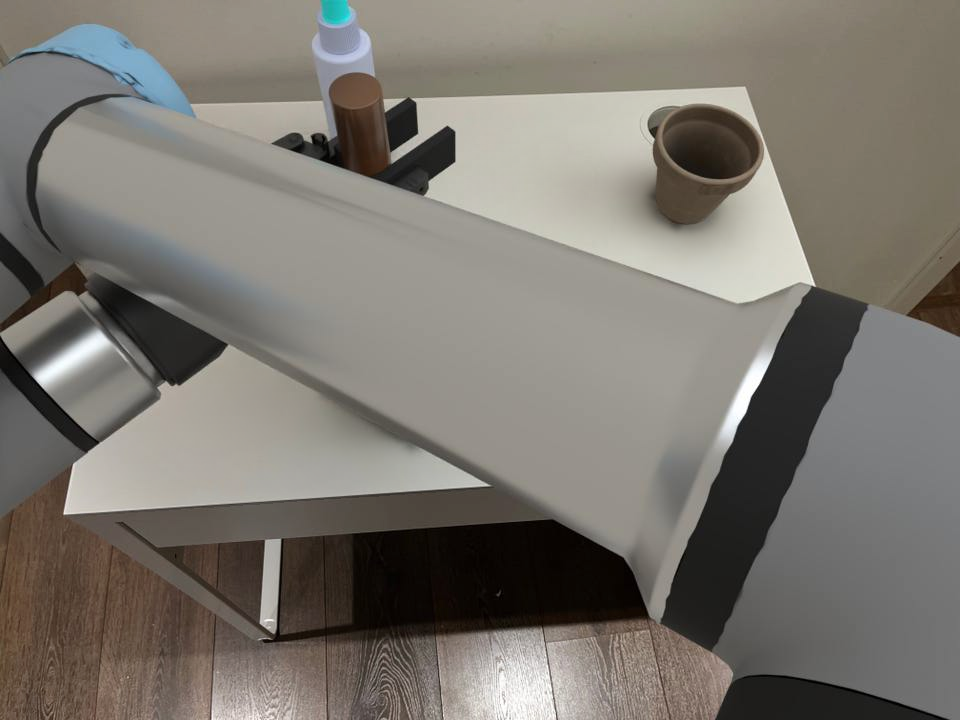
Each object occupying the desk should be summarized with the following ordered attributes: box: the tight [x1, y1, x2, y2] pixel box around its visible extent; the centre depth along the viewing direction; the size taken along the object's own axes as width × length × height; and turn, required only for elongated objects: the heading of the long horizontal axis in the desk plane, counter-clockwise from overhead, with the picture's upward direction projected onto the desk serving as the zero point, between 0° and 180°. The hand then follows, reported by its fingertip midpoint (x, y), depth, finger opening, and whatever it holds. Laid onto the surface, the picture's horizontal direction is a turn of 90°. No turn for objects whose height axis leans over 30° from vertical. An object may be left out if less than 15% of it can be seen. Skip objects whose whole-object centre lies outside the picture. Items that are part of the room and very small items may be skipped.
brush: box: [329, 72, 393, 178], centre depth 46 cm, size 7×5×15 cm
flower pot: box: [652, 103, 765, 225], centre depth 78 cm, size 12×11×10 cm
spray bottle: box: [311, 0, 376, 140], centre depth 75 cm, size 6×6×22 cm
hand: (431, 130), depth 47 cm, fingers closed on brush, 3 cm apart
